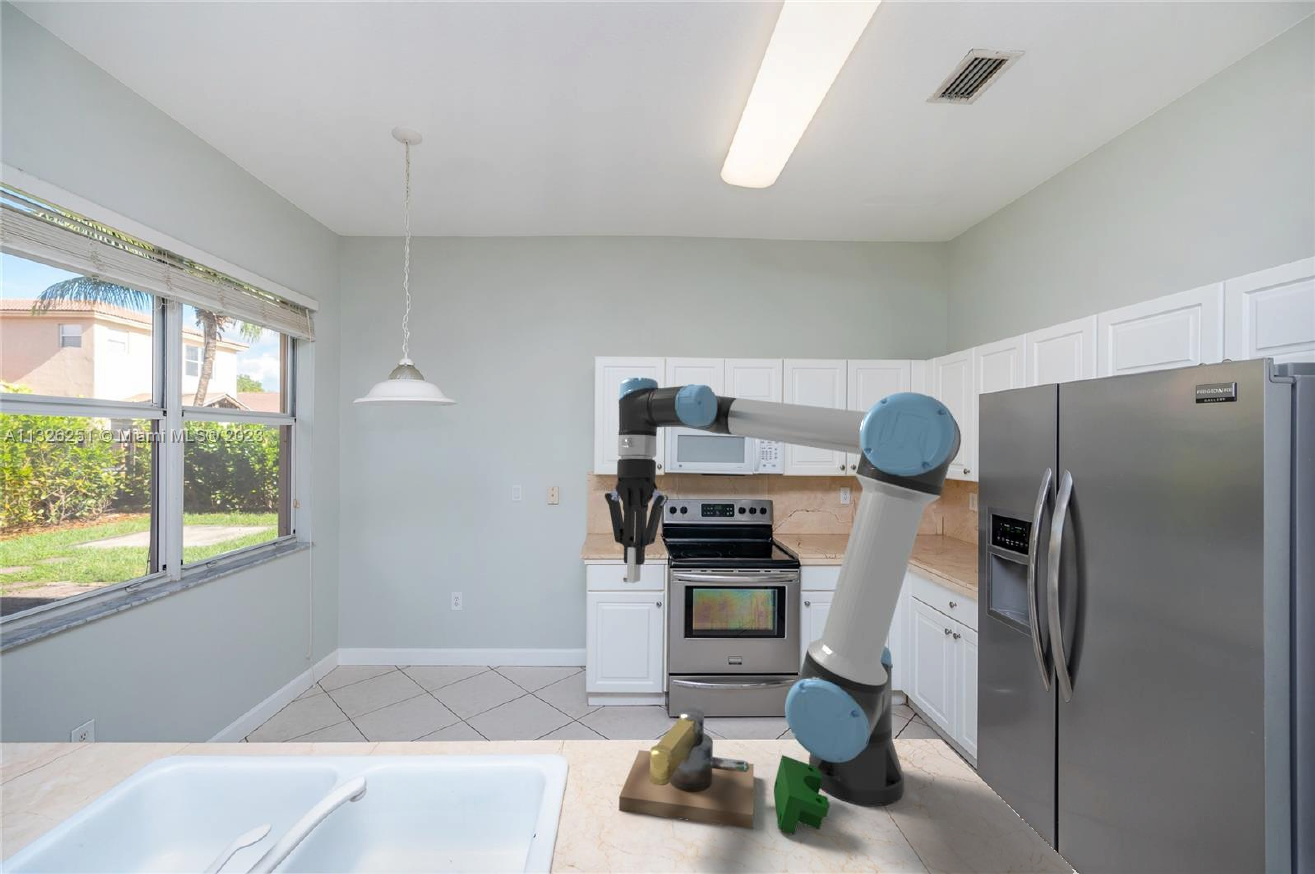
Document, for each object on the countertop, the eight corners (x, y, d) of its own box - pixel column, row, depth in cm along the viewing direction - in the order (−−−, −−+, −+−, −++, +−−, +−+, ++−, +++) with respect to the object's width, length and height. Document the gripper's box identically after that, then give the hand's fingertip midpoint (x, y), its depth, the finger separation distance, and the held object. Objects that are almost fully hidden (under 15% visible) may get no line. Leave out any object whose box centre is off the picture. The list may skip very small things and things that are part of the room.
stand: (753, 776, 91) (753, 764, 91) (752, 829, 77) (753, 814, 77) (638, 761, 95) (639, 750, 95) (618, 810, 81) (619, 796, 81)
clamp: (812, 864, 77) (831, 822, 74) (771, 848, 78) (788, 806, 74) (810, 787, 88) (827, 748, 85) (774, 774, 89) (789, 735, 86)
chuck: (749, 774, 88) (749, 737, 88) (748, 800, 81) (749, 758, 81) (672, 765, 90) (673, 728, 91) (665, 788, 83) (666, 748, 84)
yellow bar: (683, 730, 89) (684, 706, 89) (706, 736, 88) (707, 710, 88) (642, 781, 74) (643, 751, 74) (669, 788, 73) (670, 758, 73)
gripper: (598, 457, 103) (594, 581, 102) (658, 457, 98) (655, 588, 96) (617, 458, 110) (613, 574, 108) (675, 459, 105) (672, 581, 103)
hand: (633, 581), depth 102 cm, fingers closed
